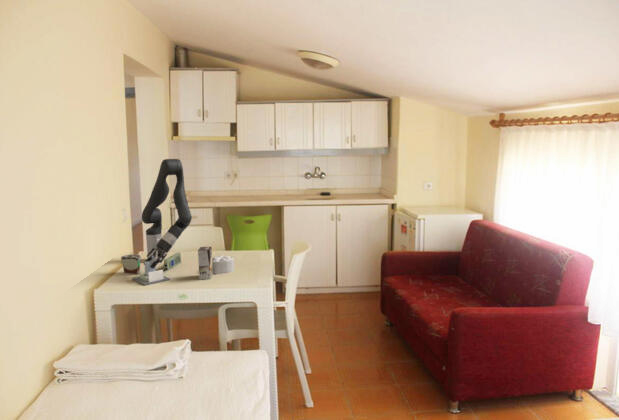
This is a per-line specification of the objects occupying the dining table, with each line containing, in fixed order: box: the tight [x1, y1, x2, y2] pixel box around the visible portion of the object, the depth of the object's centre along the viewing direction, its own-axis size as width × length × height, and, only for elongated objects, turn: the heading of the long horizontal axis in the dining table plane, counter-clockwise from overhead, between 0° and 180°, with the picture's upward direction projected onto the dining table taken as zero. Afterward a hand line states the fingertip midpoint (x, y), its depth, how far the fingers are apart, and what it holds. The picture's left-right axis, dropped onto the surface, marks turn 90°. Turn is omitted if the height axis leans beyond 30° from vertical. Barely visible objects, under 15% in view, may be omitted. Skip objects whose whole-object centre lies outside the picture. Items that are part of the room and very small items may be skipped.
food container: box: [120, 254, 142, 275], centre depth 277 cm, size 12×6×10 cm, turn 71°
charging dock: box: [131, 269, 171, 286], centre depth 261 cm, size 16×14×6 cm
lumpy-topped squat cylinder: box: [212, 254, 235, 275], centre depth 276 cm, size 10×13×9 cm
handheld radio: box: [162, 252, 182, 273], centre depth 288 cm, size 7×3×25 cm
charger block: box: [143, 261, 157, 277], centre depth 261 cm, size 4×4×9 cm
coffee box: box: [197, 246, 214, 280], centre depth 264 cm, size 9×6×16 cm
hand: (148, 266), depth 260 cm, fingers open, 8 cm apart
